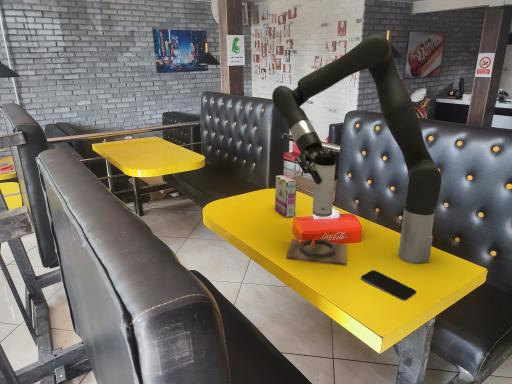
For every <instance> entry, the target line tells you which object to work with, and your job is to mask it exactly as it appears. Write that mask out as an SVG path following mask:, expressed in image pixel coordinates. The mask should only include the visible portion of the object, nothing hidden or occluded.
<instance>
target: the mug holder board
mask: <svg viewBox="0 0 512 384" xmlns="http://www.w3.org/2000/svg"><path fill="white" fill-rule="evenodd" d="M317 239H318V240H314V241H315V242H314V243H315V244H311V242H312V240H308V239H304V240H305V241H301V243H300V242H299V240H300V239H297V238H291V240H290V243H289V247H288V250H287V251H286V252H287V253H286V255H285V259H286V260H290V261H291V260H292V261H301V262H302V261H303V262H310V263H318V264H319V263H320V264H328V265H336V266H339V265H340V266H347V262H348V261H347V260H348V252H347V251H348V248H347V246H348V244H345V243H337V242H331V241H329V240H327V239H324V238H323V239H321V238H317Z"/></svg>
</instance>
